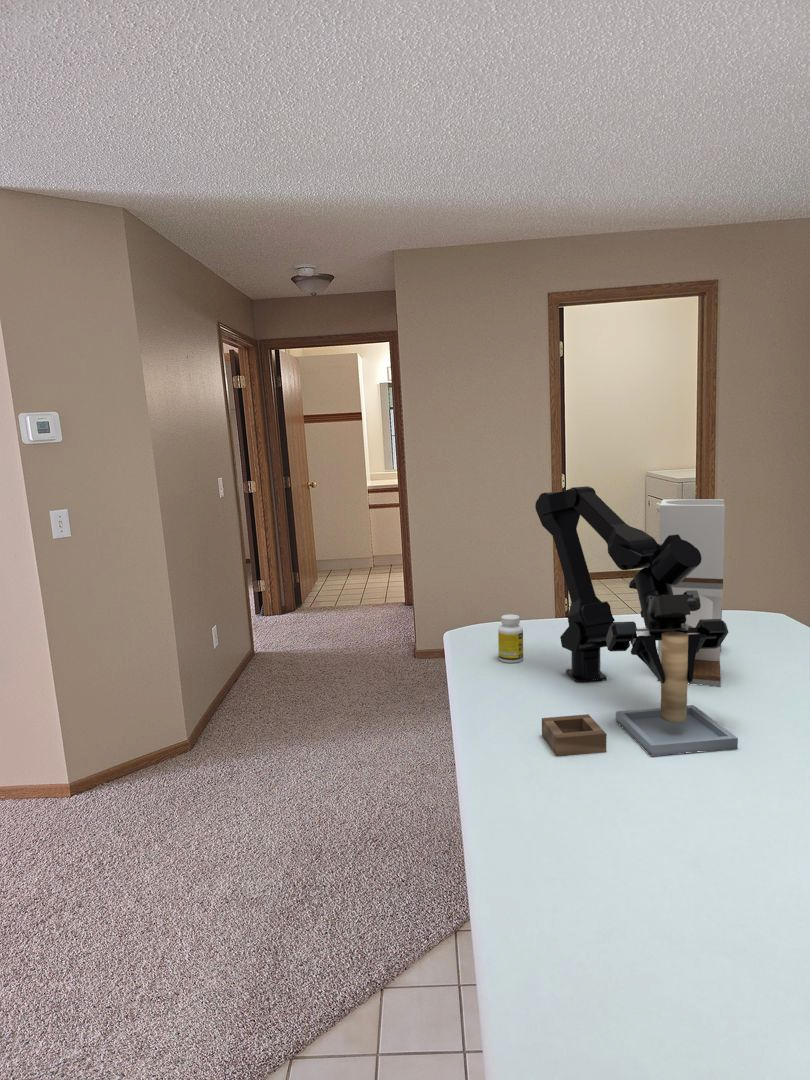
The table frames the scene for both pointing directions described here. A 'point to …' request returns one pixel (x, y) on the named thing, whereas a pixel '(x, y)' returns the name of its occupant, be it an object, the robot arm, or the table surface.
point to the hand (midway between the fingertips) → (676, 682)
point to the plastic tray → (676, 732)
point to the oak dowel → (674, 676)
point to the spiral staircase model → (699, 569)
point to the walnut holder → (573, 735)
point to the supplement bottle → (510, 639)
